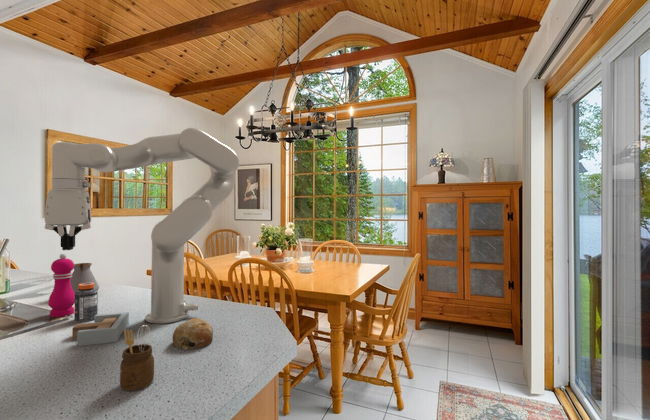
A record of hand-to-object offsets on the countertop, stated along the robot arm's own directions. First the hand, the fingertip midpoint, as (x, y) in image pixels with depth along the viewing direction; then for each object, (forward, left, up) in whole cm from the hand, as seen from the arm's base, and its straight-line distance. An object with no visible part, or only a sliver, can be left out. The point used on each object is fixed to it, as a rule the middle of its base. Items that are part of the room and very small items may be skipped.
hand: (67, 249), depth 95 cm
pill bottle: (-2, -9, -23) cm, 25 cm away
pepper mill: (+7, -17, -23) cm, 30 cm away
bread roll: (-35, +20, -24) cm, 47 cm away
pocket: (-11, +7, -23) cm, 27 cm away
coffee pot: (+8, -37, -23) cm, 45 cm away
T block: (-9, +7, -23) cm, 26 cm away
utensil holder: (-25, +40, -23) cm, 53 cm away
